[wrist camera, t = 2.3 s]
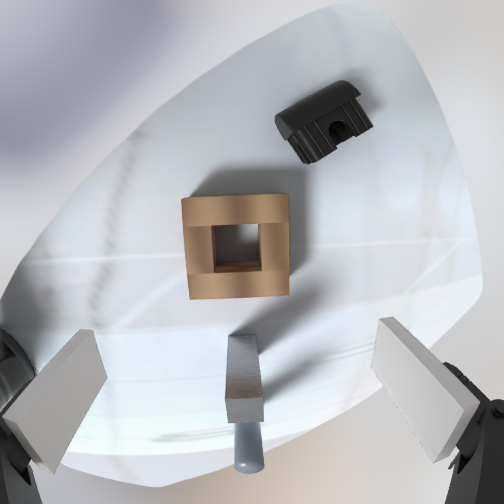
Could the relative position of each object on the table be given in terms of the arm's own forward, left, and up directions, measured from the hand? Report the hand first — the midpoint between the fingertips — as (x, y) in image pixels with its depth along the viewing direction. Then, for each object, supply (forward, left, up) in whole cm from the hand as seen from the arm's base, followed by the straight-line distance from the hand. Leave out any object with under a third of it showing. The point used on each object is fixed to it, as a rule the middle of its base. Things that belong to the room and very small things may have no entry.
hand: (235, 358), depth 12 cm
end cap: (+11, +15, -27) cm, 33 cm away
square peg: (0, -16, -27) cm, 31 cm away
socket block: (0, 0, -27) cm, 27 cm away
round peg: (0, -28, -27) cm, 39 cm away
